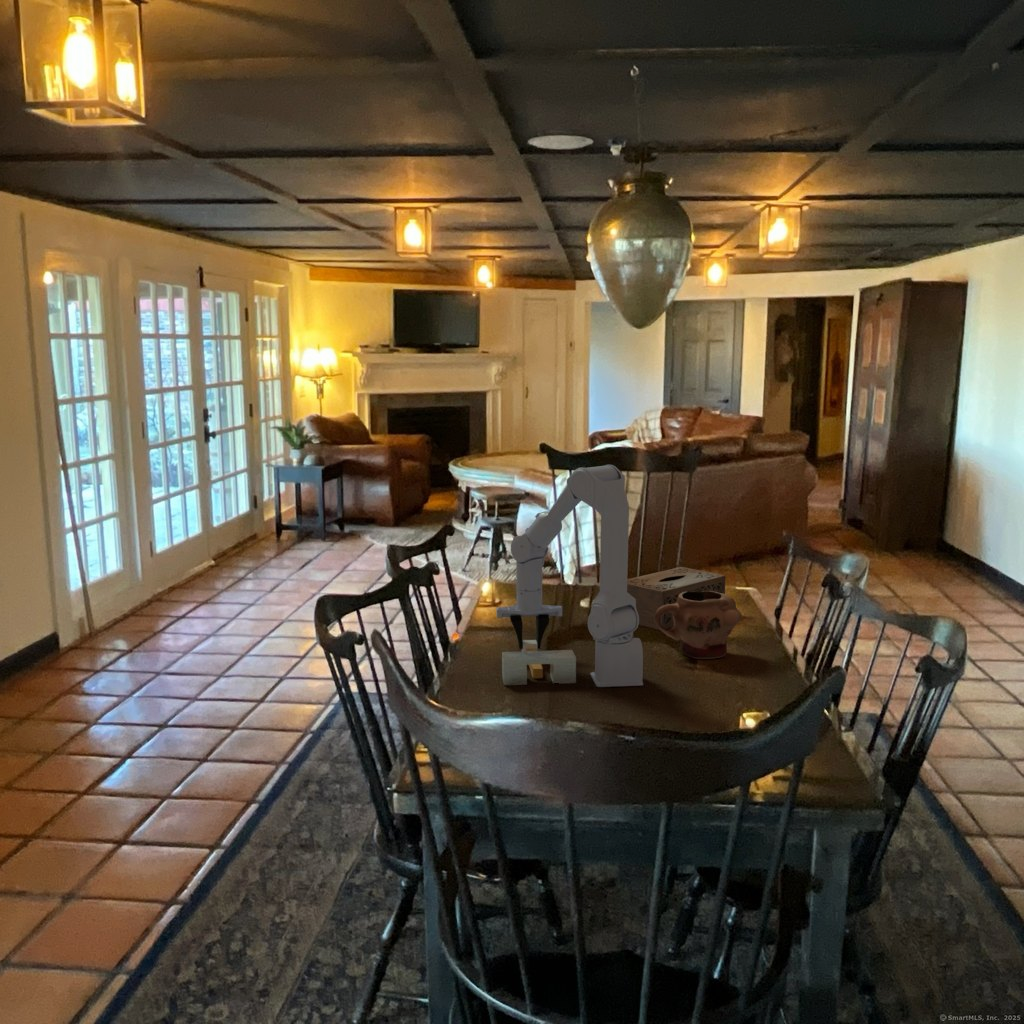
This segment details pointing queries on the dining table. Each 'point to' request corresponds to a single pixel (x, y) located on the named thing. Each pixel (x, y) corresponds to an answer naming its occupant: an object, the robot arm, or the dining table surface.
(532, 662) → the block
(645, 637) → the dining table surface
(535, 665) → the wooden stick
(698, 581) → the tissue box cover
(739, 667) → the dining table surface
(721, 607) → the ceramic mug
